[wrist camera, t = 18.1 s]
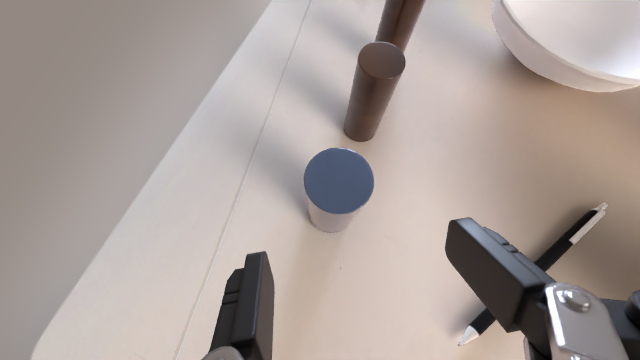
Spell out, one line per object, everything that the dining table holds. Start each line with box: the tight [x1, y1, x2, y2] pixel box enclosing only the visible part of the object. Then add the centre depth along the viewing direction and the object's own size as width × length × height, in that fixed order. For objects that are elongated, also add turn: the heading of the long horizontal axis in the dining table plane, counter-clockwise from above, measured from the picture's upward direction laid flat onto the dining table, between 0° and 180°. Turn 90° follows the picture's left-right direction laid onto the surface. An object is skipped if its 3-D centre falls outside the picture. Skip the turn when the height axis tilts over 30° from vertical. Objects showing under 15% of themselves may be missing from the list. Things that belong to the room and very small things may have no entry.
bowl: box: [492, 0, 640, 92], centre depth 26 cm, size 20×20×6 cm
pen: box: [458, 203, 608, 346], centre depth 21 cm, size 1×19×1 cm, turn 125°
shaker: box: [304, 148, 374, 233], centre depth 18 cm, size 4×4×9 cm
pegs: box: [344, 0, 425, 142], centre depth 22 cm, size 3×12×9 cm, turn 159°
